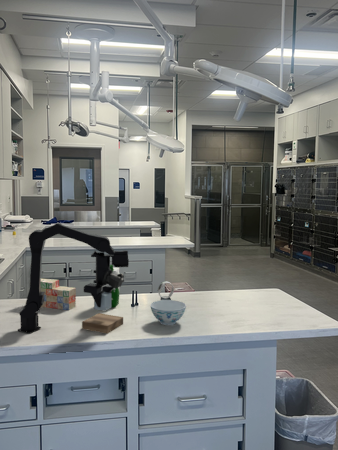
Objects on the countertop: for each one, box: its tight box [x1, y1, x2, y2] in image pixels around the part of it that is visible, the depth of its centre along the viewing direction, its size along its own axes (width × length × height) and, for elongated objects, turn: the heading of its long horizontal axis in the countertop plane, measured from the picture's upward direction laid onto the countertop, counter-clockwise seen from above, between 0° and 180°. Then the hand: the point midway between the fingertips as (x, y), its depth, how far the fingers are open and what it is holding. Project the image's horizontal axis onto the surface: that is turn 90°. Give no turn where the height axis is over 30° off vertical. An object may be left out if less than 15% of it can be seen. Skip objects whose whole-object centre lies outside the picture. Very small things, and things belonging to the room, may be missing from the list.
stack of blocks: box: [40, 278, 77, 311], centre depth 191 cm, size 21×6×12 cm, turn 72°
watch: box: [156, 281, 175, 300], centre depth 197 cm, size 6×8×11 cm
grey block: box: [93, 292, 112, 312], centre depth 164 cm, size 5×5×6 cm
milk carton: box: [110, 264, 120, 309], centre depth 193 cm, size 9×9×20 cm
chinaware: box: [149, 299, 187, 326], centre depth 170 cm, size 15×15×8 cm
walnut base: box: [81, 312, 124, 334], centre depth 165 cm, size 12×12×3 cm
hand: (102, 305), depth 164 cm, fingers closed on grey block, 5 cm apart
